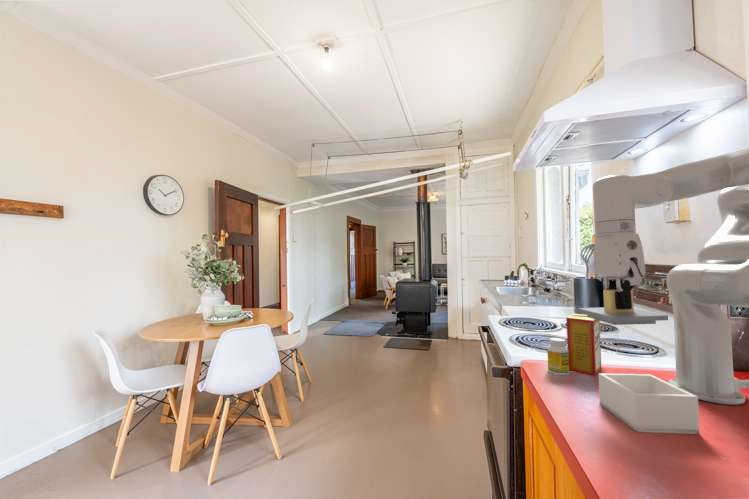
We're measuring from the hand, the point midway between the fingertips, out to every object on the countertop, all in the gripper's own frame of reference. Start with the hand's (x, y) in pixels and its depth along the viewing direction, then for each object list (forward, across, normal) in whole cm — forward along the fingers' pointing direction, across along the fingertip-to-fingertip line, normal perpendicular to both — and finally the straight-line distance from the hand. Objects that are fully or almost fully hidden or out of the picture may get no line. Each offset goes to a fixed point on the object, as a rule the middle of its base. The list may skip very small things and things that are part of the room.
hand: (618, 307), depth 70 cm
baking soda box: (+22, +21, -4) cm, 31 cm away
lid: (+3, 0, 0) cm, 3 cm away
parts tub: (+22, -7, +1) cm, 23 cm away
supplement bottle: (+22, +18, +5) cm, 29 cm away
